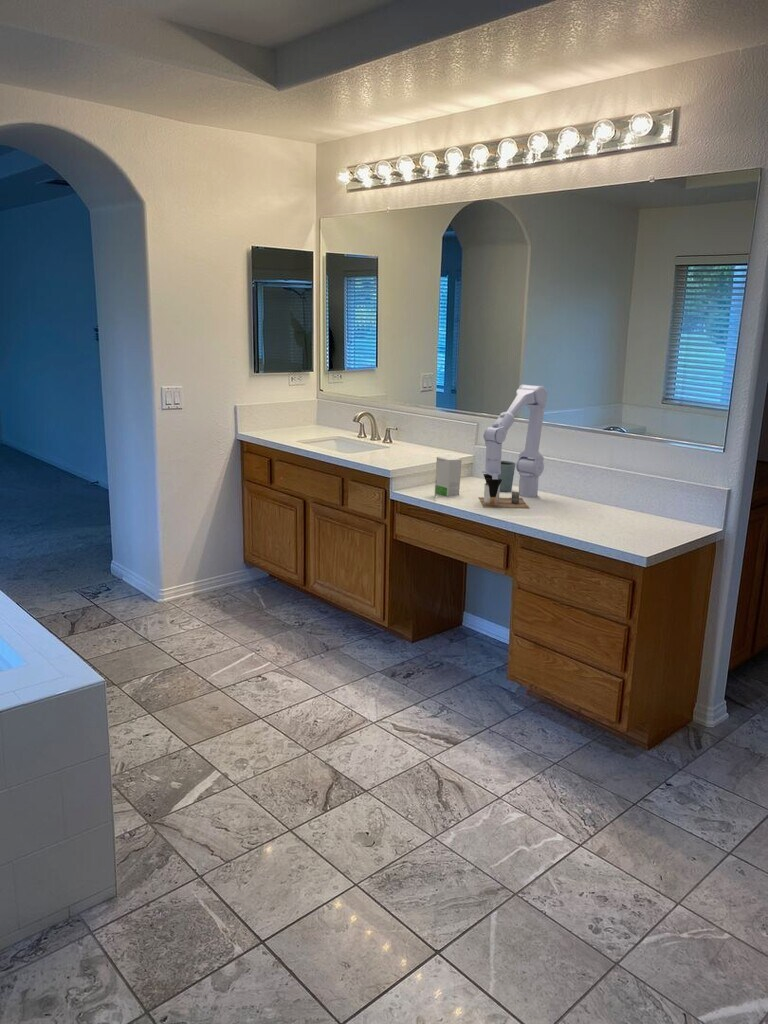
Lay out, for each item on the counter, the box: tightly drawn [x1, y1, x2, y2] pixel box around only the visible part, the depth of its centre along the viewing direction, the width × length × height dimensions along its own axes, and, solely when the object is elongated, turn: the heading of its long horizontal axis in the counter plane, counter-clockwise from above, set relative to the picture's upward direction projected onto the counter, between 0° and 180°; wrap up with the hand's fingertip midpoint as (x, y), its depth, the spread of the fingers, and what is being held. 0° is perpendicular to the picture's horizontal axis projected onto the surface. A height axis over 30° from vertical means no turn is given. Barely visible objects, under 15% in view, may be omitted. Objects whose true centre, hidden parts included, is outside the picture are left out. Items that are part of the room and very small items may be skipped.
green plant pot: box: [498, 460, 516, 493], centre depth 327 cm, size 10×10×12 cm
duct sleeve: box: [483, 482, 501, 504], centre depth 303 cm, size 6×6×7 cm
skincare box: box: [434, 455, 463, 497], centre depth 316 cm, size 8×7×16 cm
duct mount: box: [478, 491, 531, 510], centre depth 303 cm, size 18×17×5 cm
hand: (491, 494), depth 303 cm, fingers open, 7 cm apart
